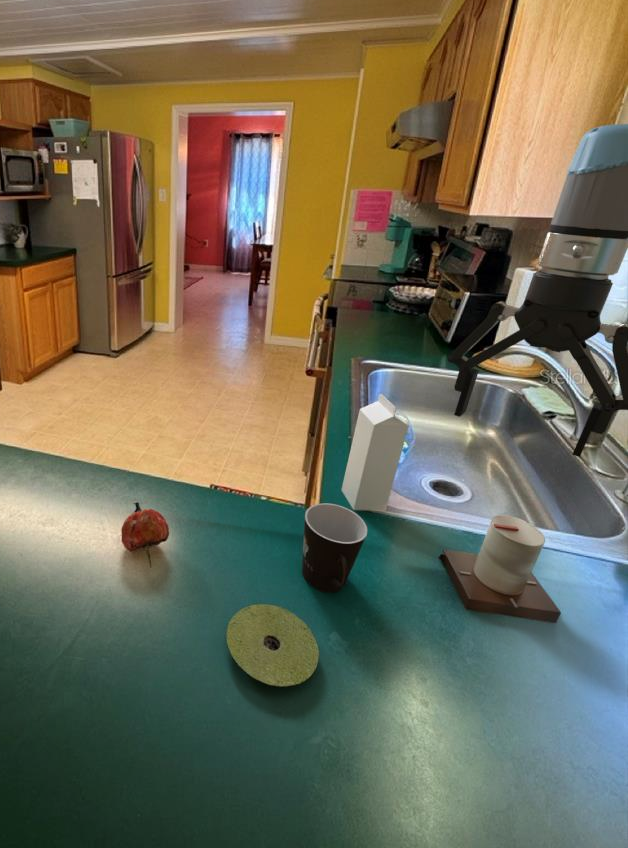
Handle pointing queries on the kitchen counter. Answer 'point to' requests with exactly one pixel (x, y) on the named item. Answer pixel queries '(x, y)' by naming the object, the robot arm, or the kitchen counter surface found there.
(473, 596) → the brown dial base
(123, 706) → the kitchen counter surface
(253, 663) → the green disc with hole
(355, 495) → the milk
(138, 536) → the pomegranate
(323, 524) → the coffee mug
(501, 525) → the cream knob
